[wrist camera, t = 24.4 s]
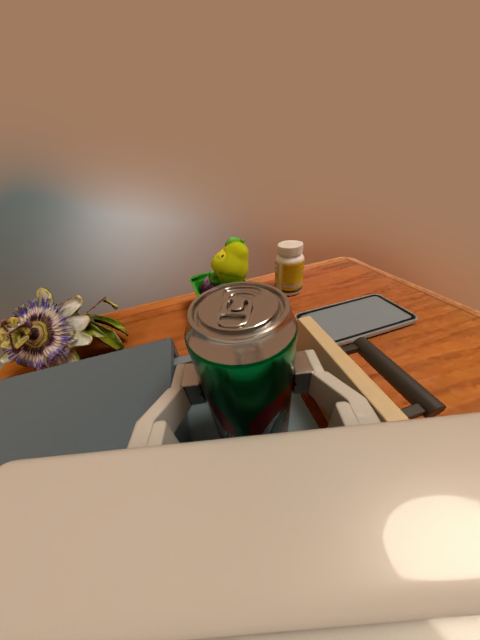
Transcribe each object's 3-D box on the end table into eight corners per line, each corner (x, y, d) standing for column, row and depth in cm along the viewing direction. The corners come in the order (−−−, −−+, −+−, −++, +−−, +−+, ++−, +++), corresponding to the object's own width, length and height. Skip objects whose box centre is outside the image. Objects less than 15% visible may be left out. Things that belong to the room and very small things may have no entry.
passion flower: (86, 397, 29) (-40, 378, 21) (104, 339, 36) (15, 308, 28) (131, 361, 25) (-4, 320, 17) (141, 304, 33) (49, 256, 25)
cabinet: (195, 395, 22) (171, 337, 16) (216, 595, 11) (168, 607, 6) (46, 439, 19) (-37, 388, 14) (-94, 734, 9) (-574, 937, 4)
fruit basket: (195, 302, 37) (177, 239, 30) (239, 289, 39) (232, 227, 32) (212, 339, 28) (192, 263, 22) (267, 320, 31) (265, 245, 24)
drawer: (338, 353, 23) (353, 304, 19) (450, 474, 14) (526, 429, 10) (181, 399, 20) (158, 353, 16) (189, 588, 11) (139, 593, 7)
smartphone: (422, 318, 26) (322, 348, 24) (418, 324, 27) (321, 354, 24) (376, 292, 32) (291, 314, 29) (374, 297, 33) (291, 319, 30)
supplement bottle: (306, 289, 37) (312, 242, 32) (290, 299, 35) (292, 250, 29) (286, 281, 40) (288, 237, 35) (269, 290, 38) (269, 245, 33)
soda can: (287, 406, 17) (297, 276, 10) (287, 478, 13) (304, 351, 6) (229, 399, 18) (201, 277, 11) (214, 465, 14) (153, 342, 7)
